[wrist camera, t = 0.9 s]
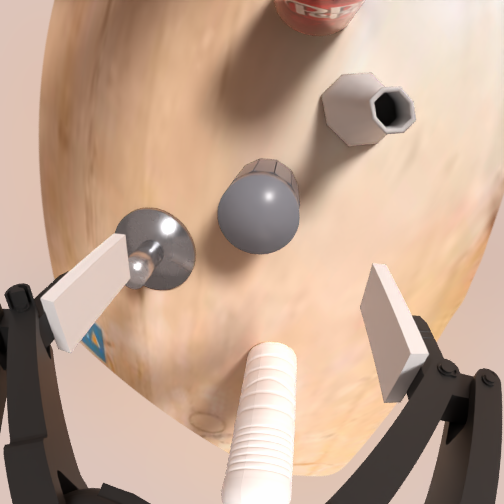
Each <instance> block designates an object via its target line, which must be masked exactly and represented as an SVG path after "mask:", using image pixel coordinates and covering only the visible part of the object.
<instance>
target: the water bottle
mask: <svg viewBox="0 0 504 504" xmlns="http://www.w3.org/2000/svg"><path fill="white" fill-rule="evenodd" d="M296 371H297V358H296V355H295V353H294V351H293V350H292V349H291V348H289V347H287V346H286V345H285V344H282V343H278V342H274V343H273V342H264V343H261V344H259V345H256V346H254V347H253V348H252V349H251V350H250V352H249V354H248V357H247V362H246V370H245V373H244V381H243V384H242V390H241V393H242V394H241V396H240V400H239V406H238V410H237V419H236V421H235V426H234V433H233V438H232V444H231V449H230V455H229V459H228V464H227V470H226V476H225V479H224V483H223V487H222V493H221V496H222V502H223V504H290V501H291V493H292V488H291V487H292V482H291V481H292V472H293V469H292V467H293V452H294V448H293V447H294V435H295V407H296V400H295V397H296Z"/></svg>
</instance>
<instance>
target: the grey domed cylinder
mask: <svg viewBox="0 0 504 504" xmlns="http://www.w3.org/2000/svg"><path fill="white" fill-rule="evenodd" d="M299 206H300V201H299V191H298V184H297V181H296V179H295V177H294V175H293V173H292V170H291V169H289V168H288V167H286V166H285V165H284V164H282V163H281V162H279V161H277V160H272V159H262V158H261V159H258V160H256V161H253V162H251V163H249V164H247V165H245V166H244V167H243V169H242V170H241V171H240V172H239V174H238V175H237V176H236V178H235V179H234V180H233V182H232V183H231V185H230V186H229V188H228V189H227V190H226V192H225V193H224V194H223V196H222V198H221V200H220V203H219V206H218V223H219V226H220V229H221V231H222V233H223V234H224V236H225V237H226V239H227V240H228V241H229V242H230V243H231V244H232V245H234V246H235V247H237V248H238V249H240V250H242V251H245V252H248V253H252V254H268V253H272V252H275V251H277V250H280V249H281V248H283V247H284V246H286V245H287V244H288V243H289V242H290V241H291V240H292V238H293V237H294V235H295V233H296V231H297V229H298V225H299Z"/></svg>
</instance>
